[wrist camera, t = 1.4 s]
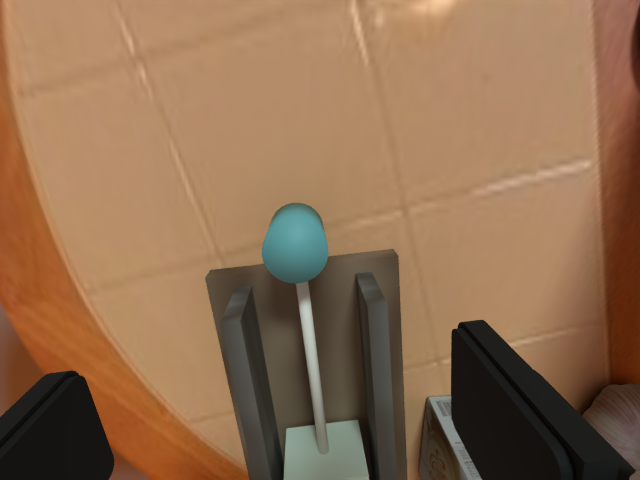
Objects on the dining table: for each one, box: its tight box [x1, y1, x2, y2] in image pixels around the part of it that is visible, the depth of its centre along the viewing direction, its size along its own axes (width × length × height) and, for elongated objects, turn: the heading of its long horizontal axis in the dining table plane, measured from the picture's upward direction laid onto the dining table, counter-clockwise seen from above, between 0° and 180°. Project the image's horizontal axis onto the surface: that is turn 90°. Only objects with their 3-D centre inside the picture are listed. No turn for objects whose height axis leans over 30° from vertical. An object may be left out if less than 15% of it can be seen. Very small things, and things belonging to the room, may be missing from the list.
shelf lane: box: [205, 249, 407, 480], centre depth 27 cm, size 14×22×6 cm, turn 6°
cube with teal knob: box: [262, 203, 369, 480], centre depth 25 cm, size 6×25×5 cm, turn 6°
